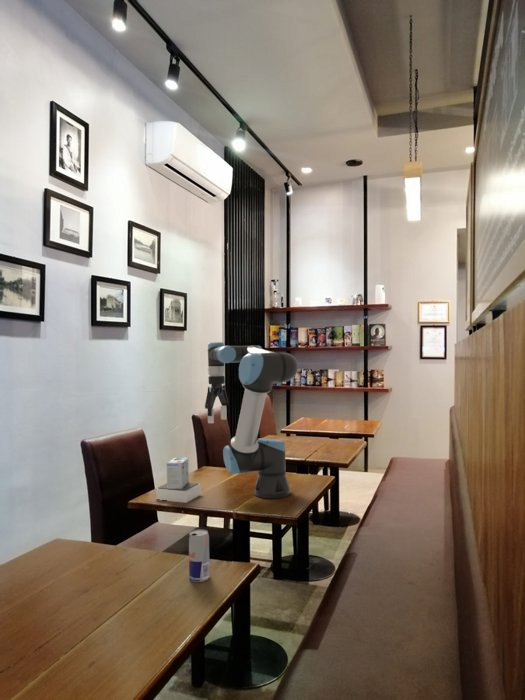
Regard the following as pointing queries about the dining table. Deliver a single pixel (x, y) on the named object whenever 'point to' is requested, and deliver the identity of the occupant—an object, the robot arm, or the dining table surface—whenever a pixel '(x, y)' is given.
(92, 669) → the dining table surface
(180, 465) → the light bulb box
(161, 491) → the stand
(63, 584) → the dining table surface
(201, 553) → the energy drink
